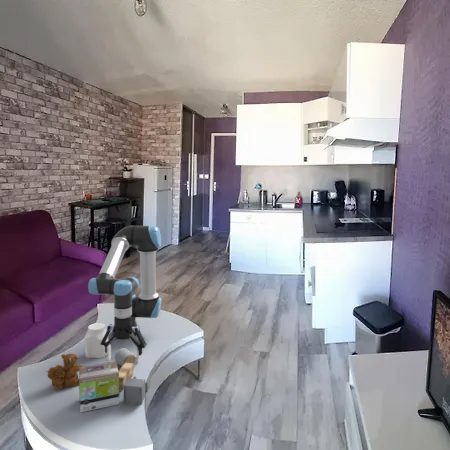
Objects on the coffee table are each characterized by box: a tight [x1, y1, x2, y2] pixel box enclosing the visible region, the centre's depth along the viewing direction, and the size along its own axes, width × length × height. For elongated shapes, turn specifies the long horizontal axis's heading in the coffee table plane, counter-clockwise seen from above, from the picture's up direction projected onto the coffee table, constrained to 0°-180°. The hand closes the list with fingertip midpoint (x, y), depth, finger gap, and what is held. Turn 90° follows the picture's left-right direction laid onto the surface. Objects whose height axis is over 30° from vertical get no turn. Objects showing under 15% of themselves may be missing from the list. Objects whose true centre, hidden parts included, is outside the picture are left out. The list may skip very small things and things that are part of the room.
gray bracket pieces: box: [123, 375, 151, 405], centre depth 150 cm, size 12×8×8 cm, turn 175°
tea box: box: [78, 360, 120, 413], centre depth 144 cm, size 15×10×15 cm
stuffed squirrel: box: [46, 353, 83, 391], centre depth 155 cm, size 10×14×13 cm
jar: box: [84, 322, 109, 359], centre depth 181 cm, size 12×10×15 cm
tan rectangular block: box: [118, 363, 134, 391], centre depth 159 cm, size 12×4×6 cm, turn 173°
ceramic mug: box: [114, 347, 138, 367], centre depth 173 cm, size 11×8×8 cm
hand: (123, 360), depth 157 cm, fingers open, 13 cm apart
